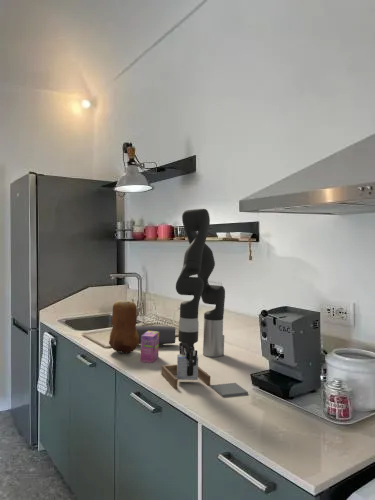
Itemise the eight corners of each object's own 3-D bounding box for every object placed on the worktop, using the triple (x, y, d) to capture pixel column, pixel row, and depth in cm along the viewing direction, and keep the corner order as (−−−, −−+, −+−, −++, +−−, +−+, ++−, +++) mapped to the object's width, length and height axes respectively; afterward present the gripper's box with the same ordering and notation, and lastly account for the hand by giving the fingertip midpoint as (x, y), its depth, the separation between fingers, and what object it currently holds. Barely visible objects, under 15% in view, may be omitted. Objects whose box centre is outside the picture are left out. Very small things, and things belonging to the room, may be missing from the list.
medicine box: (197, 376, 160) (197, 354, 160) (197, 380, 156) (198, 357, 155) (176, 376, 160) (177, 354, 160) (176, 380, 155) (177, 357, 155)
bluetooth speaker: (130, 347, 206) (130, 327, 206) (130, 343, 216) (131, 323, 216) (175, 347, 209) (175, 328, 208) (174, 343, 218) (174, 324, 218)
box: (152, 363, 181) (153, 336, 181) (140, 361, 182) (140, 335, 182) (158, 356, 191) (159, 331, 191) (147, 355, 193) (147, 330, 192)
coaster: (235, 384, 156) (235, 382, 156) (248, 394, 147) (248, 392, 147) (211, 387, 153) (211, 385, 153) (222, 397, 143) (222, 394, 143)
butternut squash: (134, 348, 206) (135, 298, 205) (141, 355, 193) (143, 301, 193) (106, 349, 201) (108, 298, 200) (111, 357, 188) (113, 302, 188)
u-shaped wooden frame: (193, 371, 171) (194, 363, 171) (210, 385, 155) (210, 376, 155) (161, 374, 166) (161, 365, 166) (174, 388, 150) (174, 379, 150)
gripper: (204, 332, 152) (203, 378, 152) (191, 325, 165) (189, 367, 166) (185, 333, 149) (184, 380, 150) (173, 325, 163) (172, 368, 163)
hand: (187, 373), depth 158 cm, fingers closed on medicine box, 5 cm apart
